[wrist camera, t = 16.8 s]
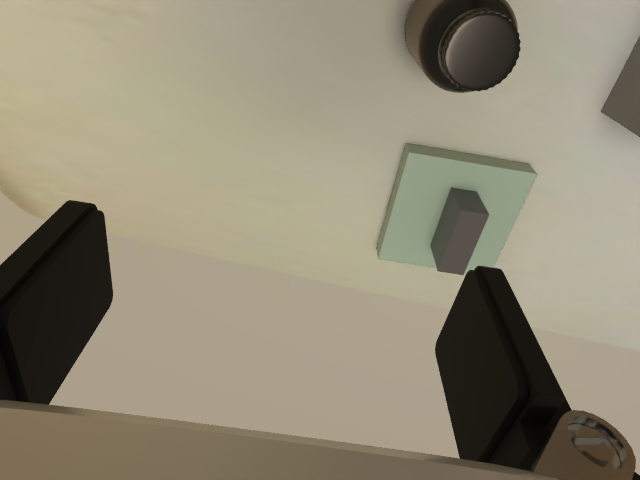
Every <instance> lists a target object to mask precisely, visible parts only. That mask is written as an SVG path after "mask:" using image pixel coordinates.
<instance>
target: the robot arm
mask: <svg viewBox="0 0 640 480" xmlns="http://www.w3.org/2000/svg"><path fill="white" fill-rule="evenodd" d="M112 298H113V289H112V281H111V271H110V263H109V254H108V245H107V236H106V227H105V218H104V214H103V212H102V211H98V210H97V207H96V205H94V204H91V203H85V202H79V201H72V200H69V201H67V202H66V203H65V204H64V205H63V206H62V207H60V208H59V209H58V210H57V211H56V212H55V213H54V214H53V215H52V216H51V217H50V218H49V219H48V220H47V221H46V222H45V223H44V224H43V225H42V226H41V227H40V228H39V229H38V230H37V231H35V232H34V233H33V234H32V235H31V236H30V237H29V238H28V239H27V240H26V241H25V242H24V243H23V244H22V245H21V246H20V247H19V248H18V249H17V250H16V251H15V252H14V253H13V254H12V255H11V256H9V257H8V258H7V259H6V260H5V261H4V262H3V263H2V264H1V265H0V480H640V475H638V474H637V473H636V472H634V471H635V464H636V463H635V462H636V459H635V456H634V453H633V450H632V448H631V446H630V445H629V443H628V442H627V440H626V439H625V438H624V437H623V435H622V434H621V433H620V432H619V431H618V430H617V429H616V428H614V427H613V426H612V425H611V424H609V423H608V422H607V421H605V420H604V419H602V418H600V417H598V416H596V415H594V414H591V413H588V412H585V411H577V410H573V411H572V410H571V408H570V406H569V404H568V402H567V400H566V398H565V396H564V394H563V392H562V390H561V388H560V386H559V384H558V382H557V380H556V378H555V376H554V374H553V372H552V370H551V368H550V366H549V364H548V362H547V360H546V358H545V356H544V354H543V352H542V350H541V348H540V346H539V344H538V342H537V340H536V337H535V335H534V334H533V331H532V329H531V327H530V325H529V323H528V321H527V319H526V317H525V315H524V313H523V311H522V309H521V307H520V305H519V303H518V301H517V299H516V297H515V295H514V293H513V291H512V289H511V287H510V285H509V283H508V281H507V279H506V277H505V275H504V273H503V271H502V270H501V269H498V268H492V267H486V266H477V267H476V268H475V269H474V270H469V271H468V272H467V274H466V276H465V278H464V281H463V283H462V285H461V287H460V290H459V292H458V294H457V296H456V299H455V301H454V303H453V305H452V308H451V310H450V312H449V314H448V317H447V319H446V321H445V324H444V326H443V328H442V330H441V333H440V335H439V337H438V339H437V342H436V348H435V353H436V358H437V363H438V367H439V371H440V376H441V380H442V384H443V388H444V392H445V397H446V401H447V406H448V410H449V414H450V418H451V423H452V427H453V431H454V436H455V440H456V444H457V448H458V453H459V457H460V459H457V458H451V457H445V456H438V455H432V454H425V453H418V452H410V451H403V450H396V449H388V448H382V447H374V446H367V445H359V444H352V443H345V442H337V441H330V440H323V439H316V438H307V437H300V436H293V435H285V434H278V433H270V432H262V431H255V430H247V429H240V428H232V427H224V426H216V425H209V424H201V423H193V422H186V421H178V420H170V419H162V418H154V417H146V416H138V415H130V414H122V413H114V412H106V411H99V410H91V409H82V408H73V407H64V406H55V405H49V403H50V402H51V400H52V398H53V397H54V395H55V394H56V392H57V390H58V389H59V387H60V386H61V384H62V382H63V381H64V379H65V378H66V376H67V374H68V373H69V371H70V370H71V368H72V366H73V365H74V363H75V362H76V360H77V358H78V357H79V355H80V354H81V352H82V350H83V349H84V347H85V346H86V344H87V342H88V341H89V339H90V338H91V336H92V334H93V333H94V331H95V330H96V328H97V326H98V325H99V323H100V322H101V320H102V318H103V317H104V315H105V313H106V312H107V310H108V309H109V307H110V305H111V302H112Z"/></svg>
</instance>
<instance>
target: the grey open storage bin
mask: <svg viewBox="0 0 640 480" xmlns="http://www.w3.org/2000/svg"><path fill="white" fill-rule="evenodd" d="M601 112H602V113H604V114H605V115H607V116H609V117H610V118H612V119H613V120H615V121H616V122H618V123H619V124H621V125H622V126H624V127H625V128H627V129H628V130H630V131H632V132H633V133H635V134H636V135H638V136H639V137H640V38H639V40H638V42H637V43H636V45H635V47H634V49H633V51H632V53H631V55H630V57H629V59H628V61H627V63H626V65H625V66H624V68H623V70H622V72H621V74H620V76H619V78H618V80H617V82H616V84H615V86H614V88H613V89H612V91H611V93H610V95H609V97H608V99H607V101H606V103H605V105H604V107H603V109H602V111H601Z"/></svg>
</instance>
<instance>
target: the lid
mask: <svg viewBox="0 0 640 480" xmlns="http://www.w3.org/2000/svg"><path fill="white" fill-rule="evenodd" d="M536 176H537V173H536V172H535V170H534V169H533V168H532V167H531V166H530V165H529V164H525V163H519V162H513V161H508V160H502V159H496V158H490V157H484V156H478V155H472V154H466V153H461V152H455V151H449V150H443V149H437V148H431V147H425V146H419V145H414V144H408V143H406V145H405V149H404V152H403V156H402V159H401V163H400V166H399V170H398V173H397V177H396V180H395V184H394V188H393V191H392V195H391V198H390V202H389V205H388V209H387V212H386V216H385V219H384V223H383V226H382V230H381V233H380V237H379V240H378V244H377V255H378V259H380V260H386V261H393V262H399V263H406V264H412V265H419V266H425V267H432V268H437V270H438V271H440V272H447V273H453V274H460V275H464V273H467V272H468V271H469V270H474V269H475V268H476V267H477V266H486V267H492V268H493V267H494V265H495V263H496V261H497V259H498V257H499V255H500V253H501V250H502V248H503V246H504V244H505V242H506V240H507V238H508V236H509V234H510V231H511V229H512V227H513V225H514V223H515V221H516V219H517V217H518V215H519V212H520V210H521V208H522V206H523V204H524V202H525V200H526V198H527V195H528V193H529V191H530V189H531V187H532V185H533V183H534V181H535V179H536Z"/></svg>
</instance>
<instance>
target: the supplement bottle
mask: <svg viewBox="0 0 640 480" xmlns="http://www.w3.org/2000/svg"><path fill="white" fill-rule="evenodd" d="M405 38H406V43H407V47H408V49H409V51H410V53H411V55H412V56H413V58H414V59H415V61H416V62H417V64H418V65H419V66H420V68H421V69H422V70H423V72H424V73H425V75H426V76H427V77H428V78H429V79H430V80H431V81H432V82H433V83H434V84H435V85H437V86H438V87H440V88H442V89H444V90H447V91H450V92H457V93H464V92H471V91H475V90H476V91H481V90H487V89H488V88H491V87H494V86H495V85H496V84H499V83H501V81H502V80H503V79H505V78H506V77H507V75H508V74H509V73H510V72H511V71H512V69H513V67H514V66H515V65H516V60H517V59H518V58H519V52H520V46H519V45H520V39H519V33H518V26H517V21H516V17H515V14H514V12H513V10H512V8H511V7H510V5H509V4H508V2H507V1H506V0H416V1H415V3H414V4H413V6H412V8H411V9H410V12H409V14H408V17H407V20H406V25H405Z"/></svg>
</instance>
